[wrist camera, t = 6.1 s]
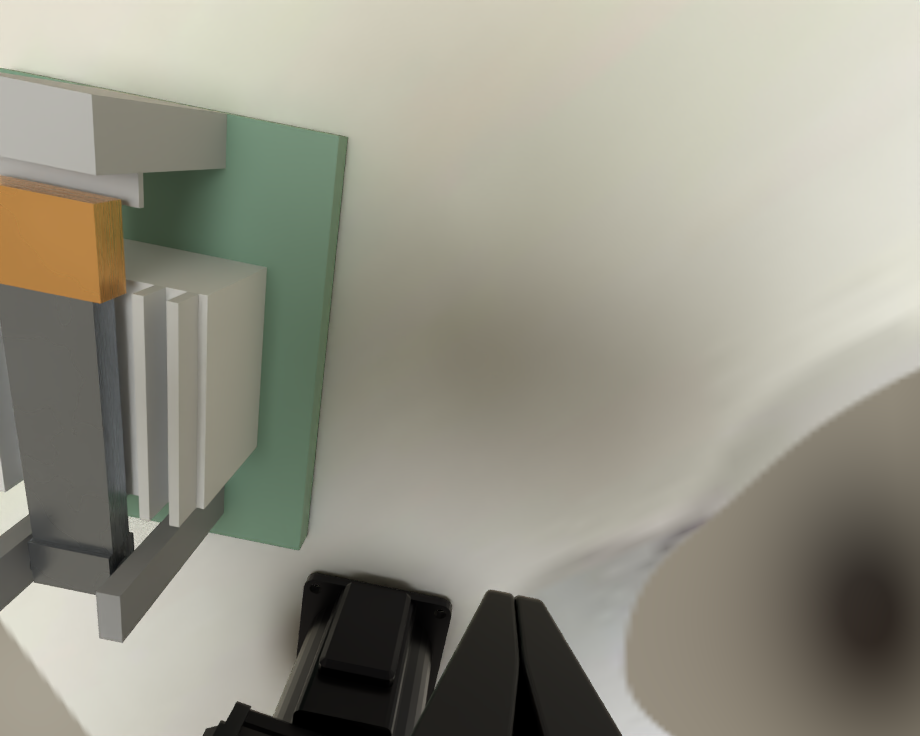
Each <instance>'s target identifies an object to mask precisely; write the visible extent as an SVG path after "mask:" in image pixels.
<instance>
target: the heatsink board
mask: <svg viewBox="0 0 920 736" xmlns="http://www.w3.org/2000/svg"><path fill="white" fill-rule="evenodd" d="M347 139H348V137H345V136H340V135H335V134H330V133H325V132H320V131H315V130H310V129H305V128H300V127H295V126H290V125H285V124H280V123H275V122H270V121H265V120H260V119H255V118H250V117H245V116H240V115H235V114H230V113H225V112H220V111H215V110H210V109H205V108H200V107H195V106H190V105H185V104H180V103H175V102H170V101H165V100H160V99H155V98H150V97H145V96H140V95H135V94H130V93H125V92H120V91H115V90H110V89H105V88H100V87H95V86H90V85H85V84H80V83H75V82H70V81H65V80H60V79H55V78H50V77H45V76H40V75H35V74H30V73H25V72H20V71H15V70H9V69H3V68H0V175H2V176H7V177H12V178H17V179H22V180H27V181H32V182H37V183H42V184H47V185H52V186H57V187H62V188H67V189H72V190H77V191H82V192H87V193H92V194H97V195H102V196H107V197H112V198H117V199H121V203H122V222H123V240H124V258H125V276H126V294H123V295H121V296H118V297H116V298H114V308H115V324H116V339H117V355H118V370H119V386H120V401H121V417H122V432H123V448H124V463H125V479H126V494H127V510H128V516H131V517H136V518H140V520H145V521H150V520H151V521H156V522H161V523H160V524H159V525H158V526H157V527H156V528H155V529H154V530H153V531H152V532H151V533H150V534H149V535H148V537H147V538H146V539H145V540H144V541H143V542H142V543H141V544H140V545H139V546H138V547H137V548H136V549H135V550H134V552H133V553H132V554H131V555H130V556H129V557H128V558H127V559H126V560H125V561H124V562H123V563H122V564H121V566H120V567H119V568H118V569H117V570H116V571H115V572H114V573H113V574H112V575H111V576H110V577H109V578H108V579H107V581H106V582H105V583H104V584H103V585H102V586H101V587H100V588H99V589H98V590H97V591H96V600H97V613H98V626H99V638H101V639H106V640H111V641H116V642H121V643H123V642H124V640H125V639H126V638H127V636H128V635H129V634H130V633H131V631H132V630H133V629H134V627H135V626H136V625H137V624H138V622H139V621H140V620H141V618H142V617H143V616H144V615H145V613H146V612H147V611H148V609H149V608H150V607H151V606H152V604H153V603H154V602H155V601H156V599H157V598H158V597H159V595H160V594H161V593H162V592H163V590H164V589H165V588H166V586H167V585H168V584H169V583H170V581H171V580H172V579H173V577H174V576H175V575H176V574H177V572H178V571H179V570H180V569H181V567H182V566H183V565H184V563H185V562H186V561H187V560H188V558H189V557H190V556H191V554H192V553H193V552H194V551H195V549H196V548H197V547H198V545H199V544H200V543H201V542H202V540H203V539H204V538H205V537H206V535H207V534H208V533H209V532H210V533H215V534H220V535H225V536H230V537H235V538H240V539H245V540H250V541H255V542H260V543H265V544H270V545H275V546H279V547H284V548H289V549H294V550H300V548H301V546H302V544H303V542H304V540H305V538H306V536H307V532H308V522H309V512H310V502H311V492H312V483H313V473H314V463H315V453H316V443H317V434H318V424H319V414H320V404H321V394H322V385H323V375H324V365H325V355H326V345H327V335H328V326H329V316H330V306H331V296H332V286H333V277H334V267H335V257H336V247H337V237H338V228H339V218H340V208H341V198H342V188H343V178H344V169H345V159H346V149H347ZM22 480H24V476H23V470H22V463H21V457H20V450H19V443H18V437H17V430H16V423H15V417H14V410H13V404H12V397H11V390H10V384H9V377H8V370H7V364H6V357H5V350H4V344H3V337H2V331H1V324H0V491H2V492H6V491H8V490H9V489H11V488H12V487H14V486H15V485H17V484H18V483H20V482H21V481H22ZM32 538H33V536H32V530H31V523H30V516H29V515H27V516H26V517H25V518H23V519H22V520H21V521H19V522H18V523H17V524H15V525H14V526H13V527H11V528H10V529H9V530H7V531H6V532H5V533H4V534H2V535H1V536H0V611H1V610H2V609H3V608H4V607H5V606H7V605H8V604H9V603H10V602H11V601H12V600H13V599H14V598H15V597H16V596H18V595H19V594H20V593H21V592H22V591H23V590H24V589H25V588H26V587H27V586H29V585H30V584H31V583H32V582H33V581H34V580H33V574H32V571H31V569H30V555H29V548H28V542H29V541H30V540H31V539H32Z"/></svg>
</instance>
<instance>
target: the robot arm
mask: <svg viewBox="0 0 920 736" xmlns="http://www.w3.org/2000/svg"><path fill="white" fill-rule="evenodd" d="M314 584H316V585H319V586H320V587H317V586H315V585H314ZM437 610H443V612H440V611H437ZM451 614H452V605H451V603H450V602H449V601H448V600H446V599H443V598H438V597H433V596H428V595H423V594H418V593H413V592H408V591H403V590H398V589H393V588H388V587H384V586H379V585H374V584H369V583H364V582H359V581H354V580H349V579H344V578H339V577H334V576H329V575H324V574H319V573H314V574H311V575H310V576H309V577H308V578H307V581H306V583H305V585H304V591H303V601H302V611H301V620H300V630H299V640H298V649H297V659H296V662H295V664H294V667H293V669H292V671H291V674H290V676H289V679H288V681H287V684H286V686H285V688H284V691H283V693H282V696H281V698H280V701H279V703H278V705H277V708H276V710H275V713H274V715H273V717H272V716H269V715H266V714H263V713H260V712H257V711H255V710H252V709H251V706H249V705H246V704H244V703H241V702H238V701H237V702H236V704H235V706H234V708H233V710H232V712H231V713H230V715H229V717H228V719H227V721H226V722H225V721H222V720H221V721H220V723H219V725H218V726H215V727H211V728H207V729H206V730H205V732H204V734H203V736H622V734H621V733H620V731H619V729H618V728H617V726H616V724H615V723H614V721H613V719H612V718H611V716H610V714H609V712H608V711H607V709H606V707H605V706H604V704H603V702H602V701H601V699H600V697H599V696H598V694H597V692H596V691H595V689H594V687H593V686H592V684H591V682H590V680H589V679H588V677H587V675H586V674H585V672H584V670H583V669H582V667H581V665H580V664H579V662H578V660H577V659H576V657H575V655H574V654H573V652H572V650H571V648H570V647H569V645H568V643H567V642H566V640H565V638H564V637H563V635H562V633H561V632H560V630H559V628H558V627H557V625H556V623H555V622H554V620H553V618H552V616H551V615H550V613H549V611H548V610H547V608H546V606H545V605H544V603H543V602H542V601H541V600H539V599H535V598H530V597H525V596H520V595H518V596H516V597H515V598H514V597H513V595H512V594H510V593H506V592H501V591H496V590H488V591H487V592H486V594H485V595H484V597H483V599H482V601H481V603H480V605H479V607H478V609H477V611H476V612H475V614H474V616H473V618H472V620H471V622H470V624H469V626H468V627H467V629H466V631H465V633H464V635H463V637H462V639H461V641H460V642H459V644H458V646H457V648H456V650H455V652H454V654H453V656H452V657H451V659H450V661H449V663H448V665H447V667H446V669H445V671H444V672H443V674H442V676H441V678H440V680H439V682H438V684H437V686H436V687H435V683H436V679H437V675H438V670H439V666H440V662H441V658H442V653H443V649H444V645H445V641H446V636H447V632H448V628H449V624H450V619H451ZM434 687H435V689H434Z"/></svg>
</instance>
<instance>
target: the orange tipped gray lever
mask: <svg viewBox="0 0 920 736" xmlns="http://www.w3.org/2000/svg"><path fill="white" fill-rule="evenodd" d="M123 294H126V276H125V258H124V240H123V222H122V203H121V199H117V198H112V197H107V196H102V195H97V194H92V193H87V192H82V191H77V190H72V189H67V188H62V187H57V186H52V185H47V184H42V183H37V182H32V181H27V180H22V179H17V178H12V177H7V176H2V175H0V324H1V331H2V337H3V344H4V350H5V357H6V364H7V370H8V377H9V384H10V390H11V397H12V404H13V410H14V417H15V423H16V430H17V437H18V443H19V450H20V457H21V463H22V470H23V476H24V483H25V490H26V496H27V503H28V510H29V516H30V523H31V530H32V536H33V538H32V539H31V540H30V541H29V542H28V548H29V555H30V569H31V571H32V574H33V580H34V582H35V583H40V584H45V585H50V586H54V587H59V588H64V589H69V590H74V591H79V592H84V593H89V594H94V595H96V591H97V590H98V589H99V588H100V587H101V586H102V585H103V584H104V583H105V582H106V581H107V579H108V578H109V577H110V576H111V575H112V574H113V573H114V572H115V571H116V570H117V569H118V568H119V567H120V566H121V564H122V563H123V562H124V561H125V560H126V559H127V558H128V557H129V556H130V555H131V554H132V553H133V552H134V538H133V533H131V532H129V525H128V510H127V494H126V479H125V463H124V448H123V432H122V417H121V401H120V386H119V370H118V355H117V339H116V324H115V308H114V298H116V297H118V296H121V295H123Z"/></svg>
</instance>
